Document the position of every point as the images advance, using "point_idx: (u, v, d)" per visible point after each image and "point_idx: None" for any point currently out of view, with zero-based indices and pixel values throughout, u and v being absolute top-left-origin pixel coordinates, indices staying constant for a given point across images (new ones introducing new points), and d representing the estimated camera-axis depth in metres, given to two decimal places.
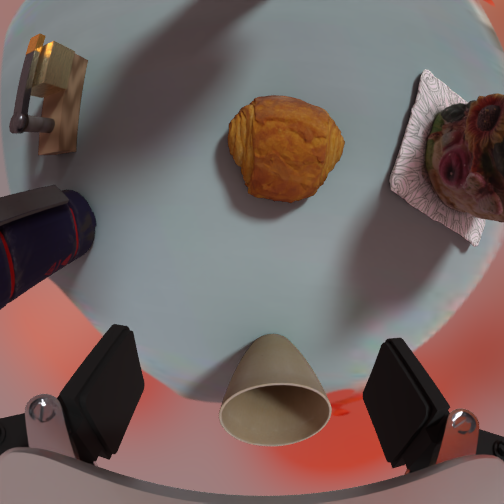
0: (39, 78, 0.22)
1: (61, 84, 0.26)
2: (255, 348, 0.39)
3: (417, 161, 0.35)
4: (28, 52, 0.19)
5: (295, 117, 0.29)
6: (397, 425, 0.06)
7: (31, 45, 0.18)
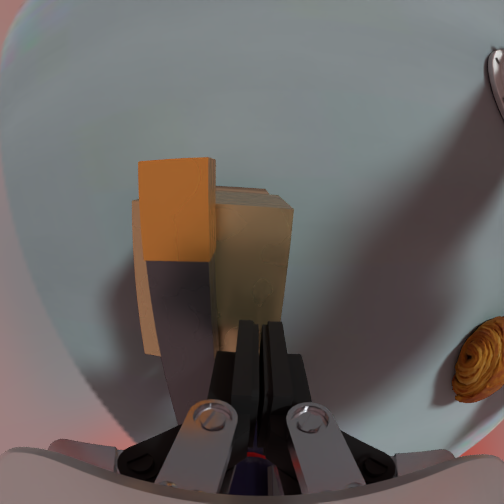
0: None
1: None
2: None
3: None
4: (157, 253, 0.08)
5: None
6: (260, 408, 0.07)
7: (167, 218, 0.08)
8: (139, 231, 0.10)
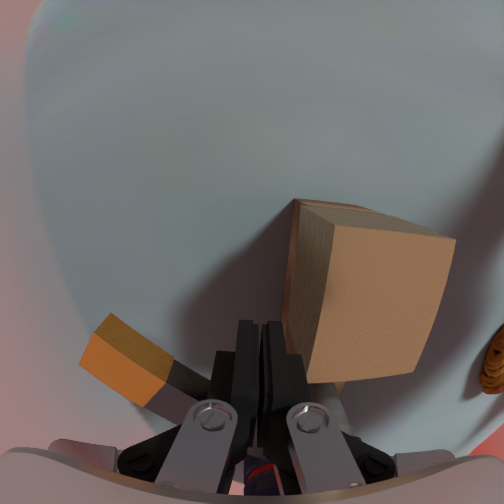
0: (401, 359, 0.11)
1: None
2: None
3: None
4: (142, 399, 0.09)
5: None
6: (260, 409, 0.07)
7: (121, 379, 0.08)
8: (337, 258, 0.09)
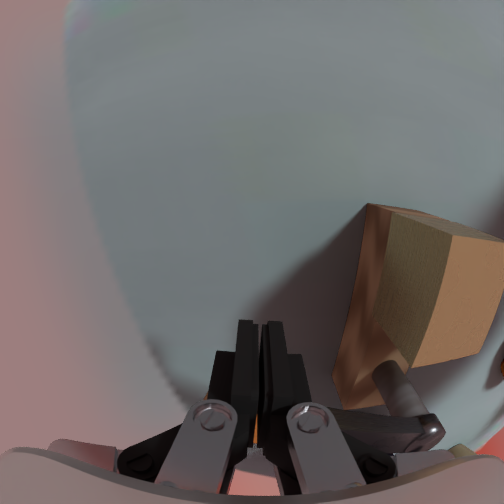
0: (474, 342, 0.11)
1: None
2: None
3: None
4: None
5: None
6: (260, 409, 0.07)
7: None
8: (451, 261, 0.10)
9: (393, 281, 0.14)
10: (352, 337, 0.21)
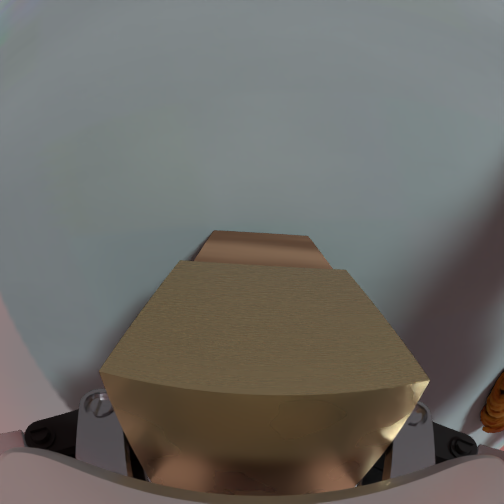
0: None
1: None
2: None
3: None
4: None
5: None
6: None
7: None
8: (128, 415, 0.04)
9: None
10: None
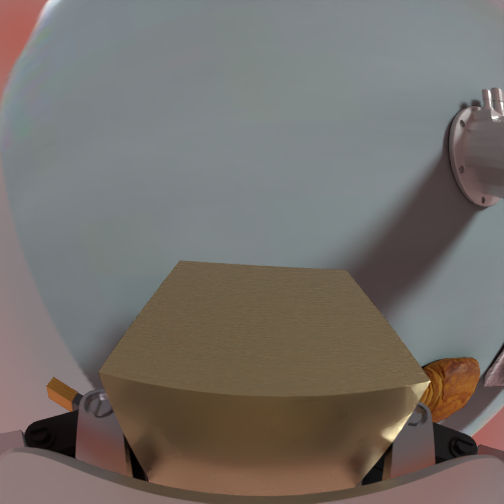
0: None
1: None
2: None
3: None
4: (70, 409, 0.18)
5: (465, 390, 0.26)
6: None
7: (61, 402, 0.18)
8: (127, 416, 0.04)
9: None
10: None
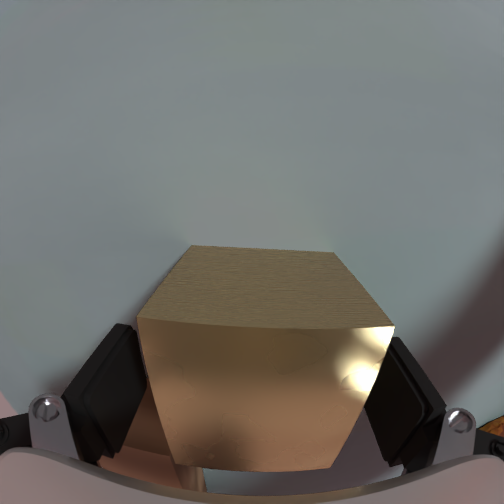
0: (304, 460, 0.07)
1: None
2: None
3: None
4: None
5: None
6: (394, 424, 0.06)
7: None
8: (154, 357, 0.06)
9: None
10: None
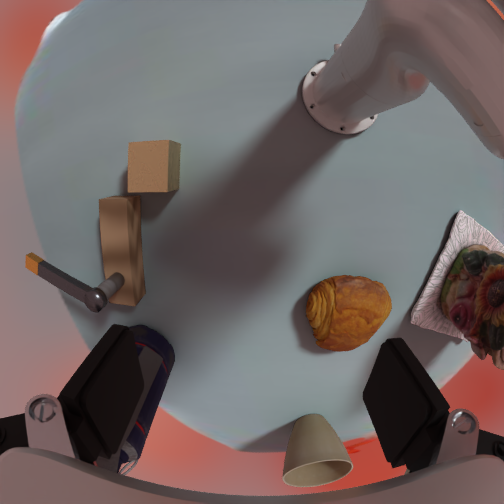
0: (159, 184, 0.34)
1: (176, 185, 0.38)
2: (303, 430, 0.48)
3: (434, 295, 0.44)
4: (36, 272, 0.30)
5: (365, 306, 0.38)
6: (397, 425, 0.06)
7: (32, 266, 0.30)
8: (130, 150, 0.33)
9: None
10: None
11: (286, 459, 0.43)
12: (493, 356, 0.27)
